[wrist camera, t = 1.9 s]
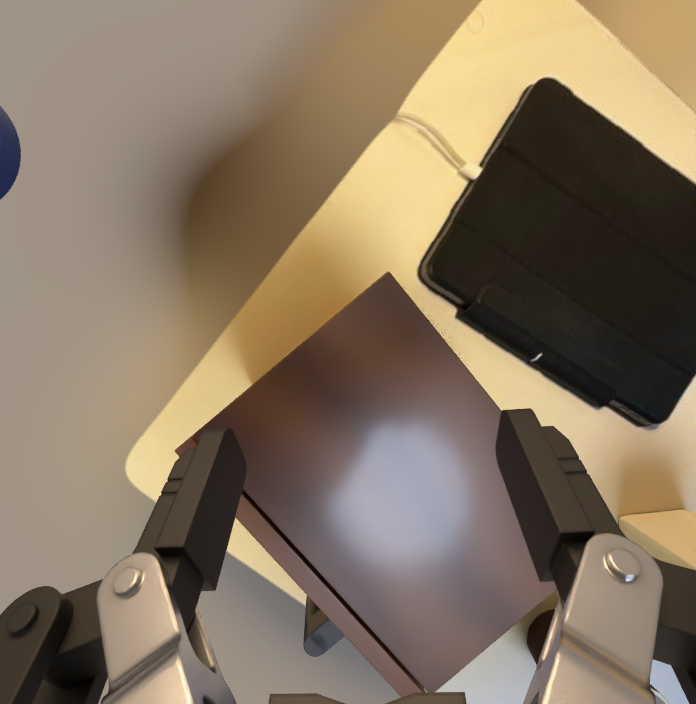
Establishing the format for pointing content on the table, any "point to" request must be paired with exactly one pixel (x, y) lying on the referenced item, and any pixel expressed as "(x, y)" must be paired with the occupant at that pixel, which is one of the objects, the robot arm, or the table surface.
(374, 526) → the cabinet
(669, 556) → the cream tall block
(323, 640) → the cabinet door
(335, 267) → the table surface
